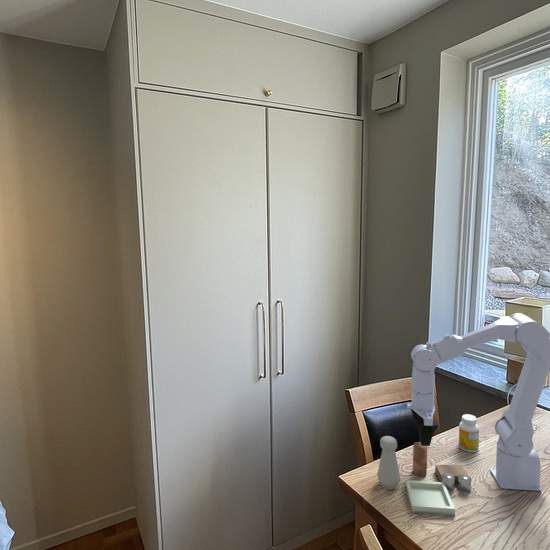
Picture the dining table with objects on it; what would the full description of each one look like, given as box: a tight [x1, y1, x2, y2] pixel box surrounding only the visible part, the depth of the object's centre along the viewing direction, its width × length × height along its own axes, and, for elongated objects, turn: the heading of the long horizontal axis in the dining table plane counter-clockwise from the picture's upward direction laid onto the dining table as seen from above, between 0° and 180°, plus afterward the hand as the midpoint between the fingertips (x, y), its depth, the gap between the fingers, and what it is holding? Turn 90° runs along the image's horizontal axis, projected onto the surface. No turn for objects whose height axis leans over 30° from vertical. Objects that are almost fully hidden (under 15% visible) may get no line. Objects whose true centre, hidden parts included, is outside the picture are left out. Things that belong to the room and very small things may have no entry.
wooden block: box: [434, 464, 470, 485], centre depth 107 cm, size 7×5×2 cm
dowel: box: [412, 441, 428, 478], centre depth 109 cm, size 4×4×8 cm
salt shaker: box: [376, 435, 401, 491], centre depth 104 cm, size 6×6×13 cm
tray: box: [404, 479, 456, 517], centre depth 98 cm, size 10×10×2 cm
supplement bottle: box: [458, 413, 480, 453], centre depth 120 cm, size 5×5×10 cm
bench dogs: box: [442, 473, 472, 493], centre depth 102 cm, size 7×3×3 cm, turn 81°
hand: (422, 437), depth 109 cm, fingers open, 7 cm apart
